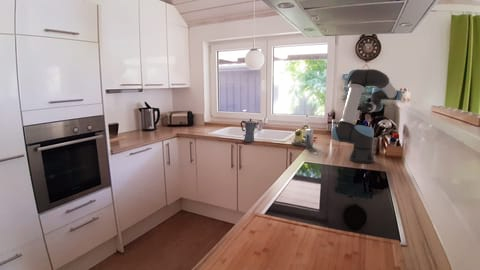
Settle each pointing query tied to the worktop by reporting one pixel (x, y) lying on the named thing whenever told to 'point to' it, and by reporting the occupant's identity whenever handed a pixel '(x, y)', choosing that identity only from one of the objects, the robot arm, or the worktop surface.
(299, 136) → the pale yellow rounded lump
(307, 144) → the grey white box
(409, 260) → the worktop surface
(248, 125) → the moka pot
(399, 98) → the robot arm
